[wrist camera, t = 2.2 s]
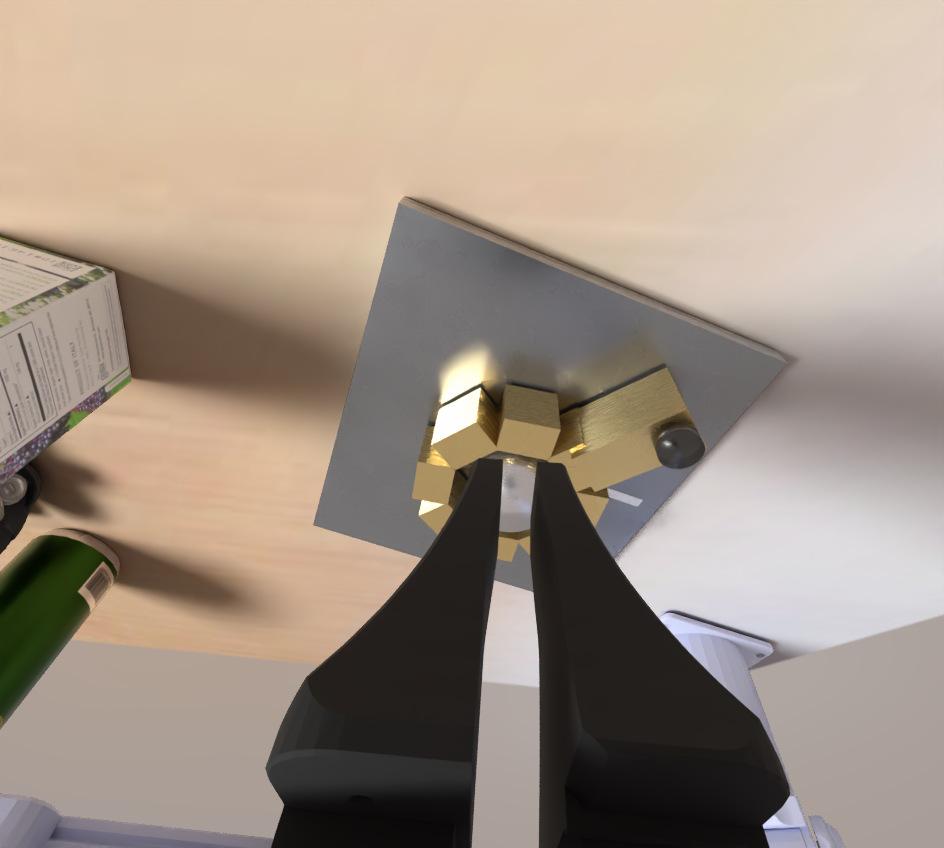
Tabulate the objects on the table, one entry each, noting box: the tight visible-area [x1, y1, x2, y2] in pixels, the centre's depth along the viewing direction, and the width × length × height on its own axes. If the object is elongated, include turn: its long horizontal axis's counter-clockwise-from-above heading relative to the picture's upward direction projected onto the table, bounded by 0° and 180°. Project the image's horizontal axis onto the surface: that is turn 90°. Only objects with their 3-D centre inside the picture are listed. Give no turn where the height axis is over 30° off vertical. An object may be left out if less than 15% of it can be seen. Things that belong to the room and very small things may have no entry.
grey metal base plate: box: [313, 197, 787, 592], centre depth 23 cm, size 18×16×4 cm
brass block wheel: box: [412, 367, 707, 562], centre depth 21 cm, size 12×8×4 cm
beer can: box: [0, 529, 120, 729], centre depth 28 cm, size 5×5×12 cm
